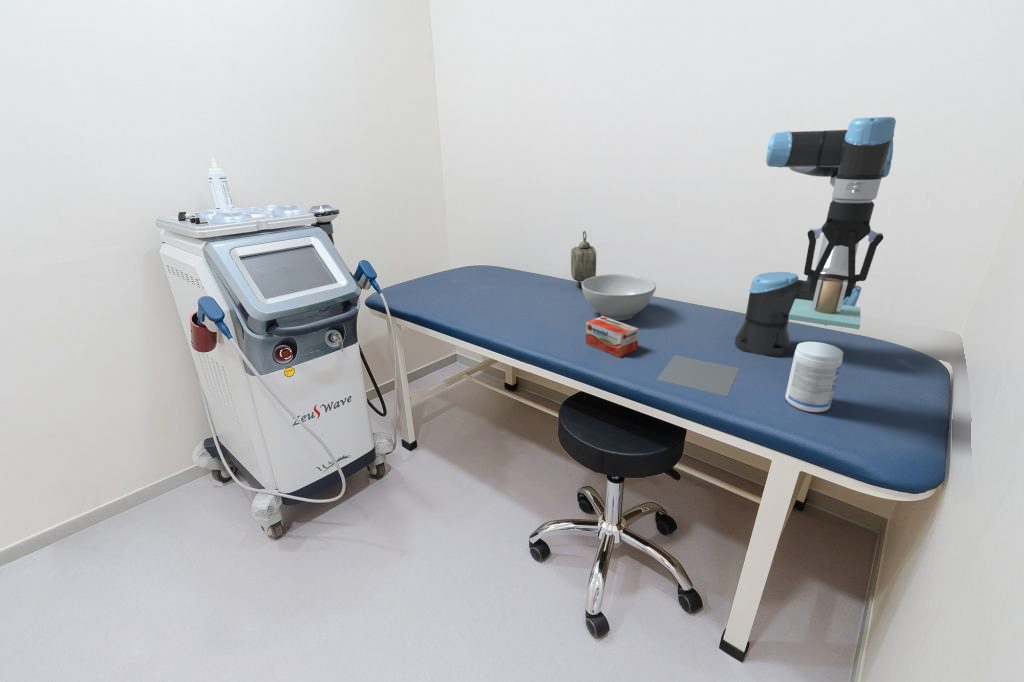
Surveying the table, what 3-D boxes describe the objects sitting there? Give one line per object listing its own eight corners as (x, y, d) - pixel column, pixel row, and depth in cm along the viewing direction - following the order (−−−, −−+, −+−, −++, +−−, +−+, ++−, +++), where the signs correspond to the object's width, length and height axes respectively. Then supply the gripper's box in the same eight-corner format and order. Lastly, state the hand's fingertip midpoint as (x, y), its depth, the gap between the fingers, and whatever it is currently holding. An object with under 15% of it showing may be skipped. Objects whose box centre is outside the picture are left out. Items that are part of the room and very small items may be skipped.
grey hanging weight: (595, 291, 203) (597, 233, 193) (574, 292, 203) (575, 234, 193) (589, 282, 216) (591, 227, 206) (570, 282, 216) (571, 228, 206)
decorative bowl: (646, 303, 186) (649, 274, 181) (659, 328, 161) (662, 295, 156) (579, 303, 188) (580, 274, 184) (582, 327, 164) (583, 295, 159)
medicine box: (637, 351, 145) (639, 327, 142) (620, 358, 140) (621, 334, 137) (601, 337, 156) (602, 315, 153) (584, 344, 151) (585, 321, 148)
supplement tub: (837, 415, 108) (853, 358, 103) (793, 412, 110) (806, 357, 104) (818, 394, 117) (832, 341, 111) (778, 392, 119) (790, 340, 113)
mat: (674, 356, 140) (674, 355, 140) (739, 369, 131) (739, 368, 131) (656, 381, 126) (656, 379, 126) (726, 398, 117) (727, 396, 117)
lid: (794, 302, 113) (801, 270, 110) (859, 311, 106) (868, 277, 103) (788, 318, 103) (795, 284, 100) (859, 329, 96) (869, 292, 93)
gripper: (803, 200, 97) (781, 306, 106) (906, 204, 88) (872, 319, 97) (806, 197, 102) (785, 297, 111) (904, 199, 93) (872, 309, 102)
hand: (825, 307), depth 104 cm, fingers closed on lid, 4 cm apart
